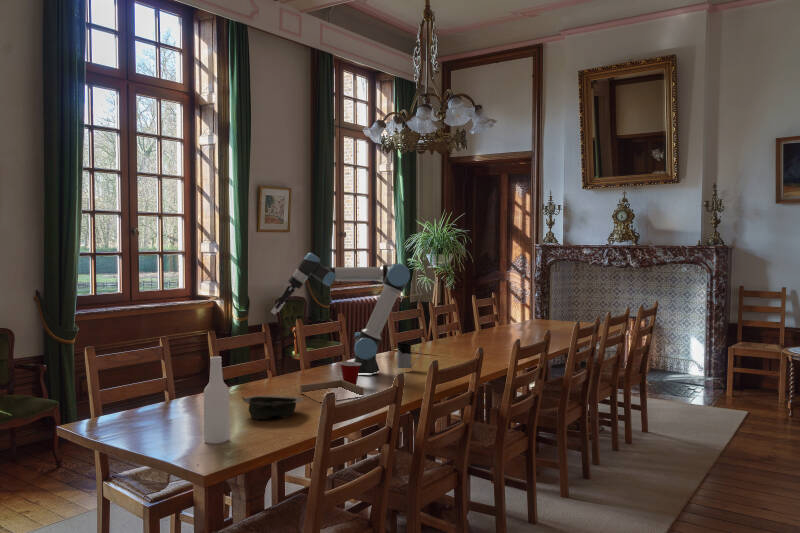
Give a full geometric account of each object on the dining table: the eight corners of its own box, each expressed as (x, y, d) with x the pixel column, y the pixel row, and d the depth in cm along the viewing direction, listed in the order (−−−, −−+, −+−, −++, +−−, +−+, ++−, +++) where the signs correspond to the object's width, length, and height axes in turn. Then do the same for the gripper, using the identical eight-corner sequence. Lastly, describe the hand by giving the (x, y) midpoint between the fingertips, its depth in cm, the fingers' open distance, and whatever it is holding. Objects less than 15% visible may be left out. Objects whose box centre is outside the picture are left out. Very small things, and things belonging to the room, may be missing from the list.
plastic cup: (364, 387, 315) (364, 363, 315) (343, 389, 311) (343, 365, 311) (357, 383, 325) (357, 360, 325) (337, 385, 321) (337, 361, 321)
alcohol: (232, 437, 232) (231, 354, 231) (226, 444, 223) (225, 358, 222) (207, 437, 232) (206, 355, 231) (201, 444, 223) (199, 359, 222)
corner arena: (341, 388, 313) (341, 379, 313) (363, 397, 295) (363, 387, 294) (300, 394, 301) (300, 384, 301) (320, 403, 283) (320, 393, 283)
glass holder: (394, 370, 361) (394, 343, 361) (418, 368, 366) (418, 342, 365) (399, 372, 353) (399, 346, 353) (423, 371, 357) (423, 344, 357)
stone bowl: (243, 425, 247) (243, 401, 247) (242, 414, 271) (241, 392, 271) (307, 419, 253) (306, 395, 254) (300, 409, 278) (299, 388, 278)
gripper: (294, 274, 348) (271, 306, 347) (289, 275, 323) (265, 310, 322) (305, 282, 348) (283, 314, 348) (301, 284, 323) (277, 318, 323)
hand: (274, 312), depth 335 cm, fingers open, 13 cm apart
